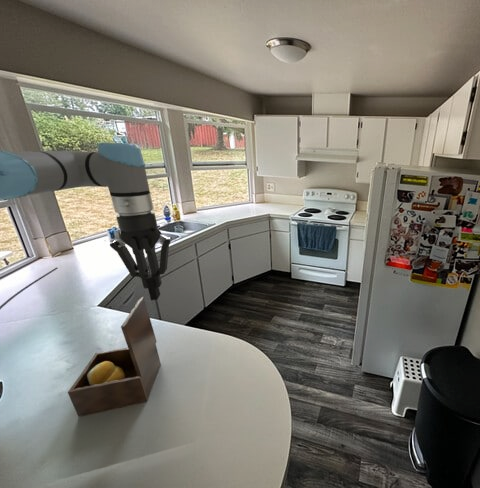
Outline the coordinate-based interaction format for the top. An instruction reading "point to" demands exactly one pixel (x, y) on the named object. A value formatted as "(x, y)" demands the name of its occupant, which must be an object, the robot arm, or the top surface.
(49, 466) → the top surface
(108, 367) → the bread roll
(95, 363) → the bin
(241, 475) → the top surface
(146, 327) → the bin lid
